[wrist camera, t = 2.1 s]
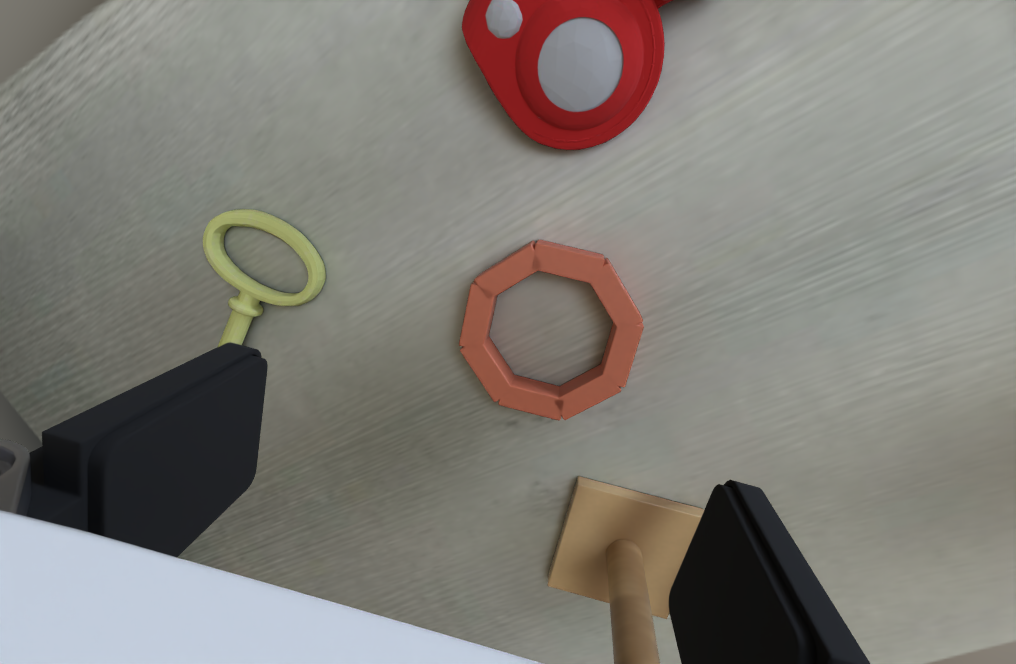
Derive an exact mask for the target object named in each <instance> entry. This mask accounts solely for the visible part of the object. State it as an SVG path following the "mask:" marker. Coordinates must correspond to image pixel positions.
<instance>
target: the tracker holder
mask: <svg viewBox="0 0 1016 664" xmlns="http://www.w3.org/2000/svg"><path fill="white" fill-rule="evenodd" d="M670 1H672V0H470V1H469V3H468V5H467V8H466V10H465V13H464V16H463V21H462V31H463V34H464V37H465V40H466V43H467V46H468V47H469V49H470V51H471V53H472V55H473V57H474V59H475V61H476V62H477V64H478V66H479V68H480V69H481V71H482V73H483V75H484V76H485V78H486V80H487V82H488V84H489V86H490V88H491V90H492V91H493V93H494V95H495V96H496V98H497V99H498V101H499V102H500V104H501V105H502V107H503V108H504V110H505V111H506V113H507V114H508V115H509V117H510V118H511V119H512V120H513V122H514V123H515V124H516V125H517V126H518V127H519V128H520V129H521V131H522V132H524V133H525V134H526V135H527V136H528V137H529V138H531V139H533V140H534V141H536V142H538V143H540V144H542V145H546V146H549V147H552V148H556V149H564V150H579V149H584V148H589V147H593V146H596V145H599V144H602V143H604V142H607V141H608V140H610V139H612V138H614V137H615V136H617V135H618V134H620V133H621V132H623V131H624V130H625V129H626V128H628V127H629V126H630V125H631V124H632V123H633V122H634V121H635V120H636V119H637V118H638V116H639V115H640V114H641V113H642V111H643V110H644V109H645V107H646V106H647V104H648V102H649V101H650V99H651V97H652V95H653V93H654V90H655V88H656V86H657V84H658V81H659V78H660V74H661V71H662V64H663V58H664V32H663V26H662V21H661V17H660V14H659V11H658V8H660V7H661V6H663V5H665V4H667V3H668V2H670Z"/></svg>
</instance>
